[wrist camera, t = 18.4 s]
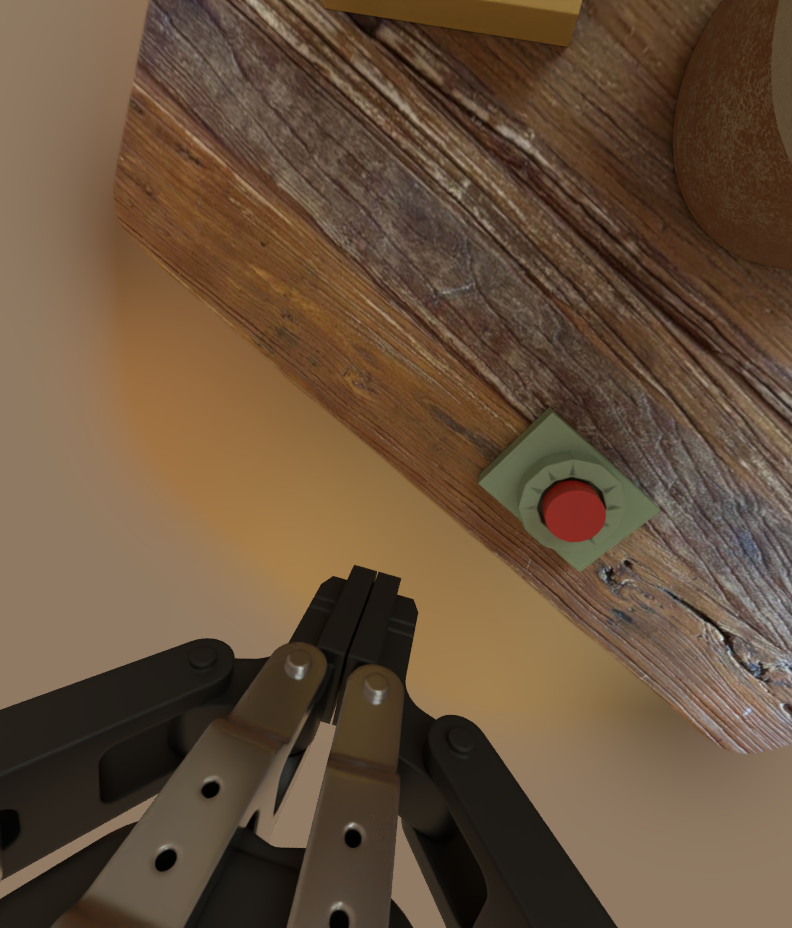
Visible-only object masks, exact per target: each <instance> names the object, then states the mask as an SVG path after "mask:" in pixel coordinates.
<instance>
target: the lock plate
mask: <svg viewBox="0 0 792 928" xmlns="http://www.w3.org/2000/svg"><path fill="white" fill-rule="evenodd" d="M582 1H583V0H321V2H322V4H323V6H324V8H326V9H332V10H338V11H345V12H351V13H357V14H364V15H370V16H376V17H383V18H389V19H395V20H401V21H408V22H414V23H420V24H427V25H433V26H439V27H446V28H452V29H458V30H465V31H471V32H477V33H483V34H490V35H496V36H502V37H509V38H515V39H521V40H528V41H534V42H540V43H546V44H553V45H559V46H565V47H568V46H569V43H570V40H571V37H572V34H573V31H574V28H575V24H576V21H577V18H578V15H579V12H580V8H581V4H582Z"/></svg>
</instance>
